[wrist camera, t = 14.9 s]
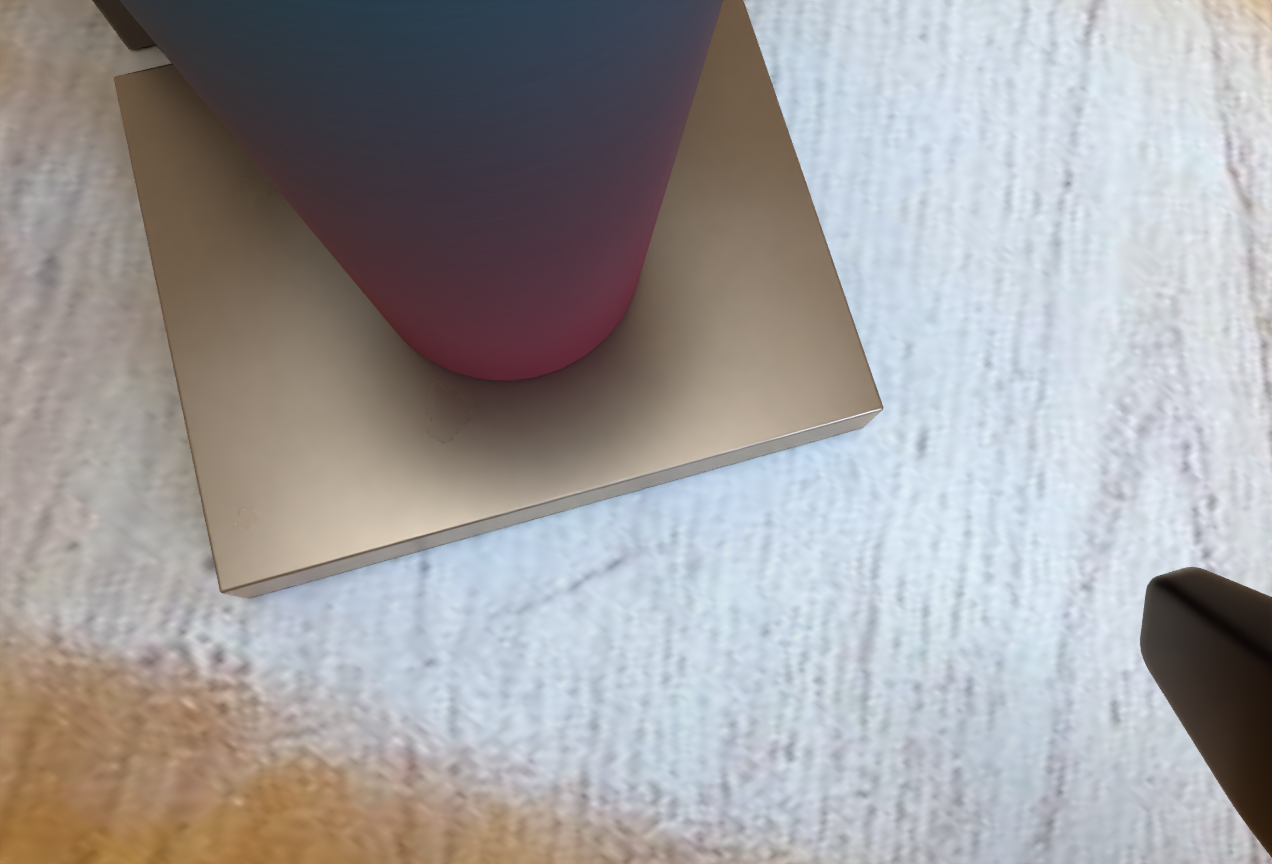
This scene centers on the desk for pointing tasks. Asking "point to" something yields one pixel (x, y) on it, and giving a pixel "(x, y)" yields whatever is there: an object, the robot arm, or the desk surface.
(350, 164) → the cup
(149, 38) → the coffee maker
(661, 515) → the desk surface
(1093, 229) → the desk surface
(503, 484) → the grey tray
